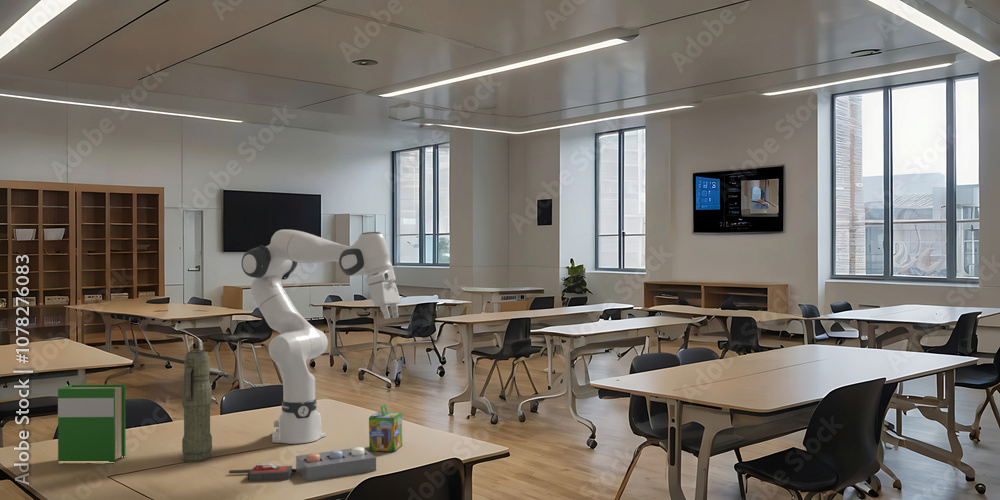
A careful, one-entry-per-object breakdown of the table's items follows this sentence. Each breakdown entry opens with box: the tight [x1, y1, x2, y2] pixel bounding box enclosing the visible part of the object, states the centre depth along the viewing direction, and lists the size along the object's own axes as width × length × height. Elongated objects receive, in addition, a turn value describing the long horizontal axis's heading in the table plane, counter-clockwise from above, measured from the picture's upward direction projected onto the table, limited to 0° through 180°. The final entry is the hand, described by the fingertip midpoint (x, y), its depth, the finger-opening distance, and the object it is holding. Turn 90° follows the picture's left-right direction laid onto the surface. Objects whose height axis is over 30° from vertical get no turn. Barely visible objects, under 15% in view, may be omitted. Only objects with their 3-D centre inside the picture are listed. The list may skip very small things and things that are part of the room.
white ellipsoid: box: [350, 446, 365, 457], centre depth 227 cm, size 4×4×3 cm
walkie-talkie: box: [228, 462, 297, 482], centre depth 217 cm, size 9×4×20 cm
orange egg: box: [305, 452, 320, 463], centre depth 220 cm, size 4×4×3 cm
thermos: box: [181, 349, 213, 463], centre depth 237 cm, size 9×12×35 cm
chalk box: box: [368, 403, 403, 453], centre depth 248 cm, size 9×9×15 cm
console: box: [295, 447, 377, 482], centre depth 224 cm, size 14×21×4 cm, turn 119°
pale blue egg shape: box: [328, 449, 343, 460], centre depth 224 cm, size 4×4×3 cm
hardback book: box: [57, 383, 127, 462], centre depth 235 cm, size 18×7×24 cm, turn 90°
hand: (391, 318), depth 241 cm, fingers open, 8 cm apart
